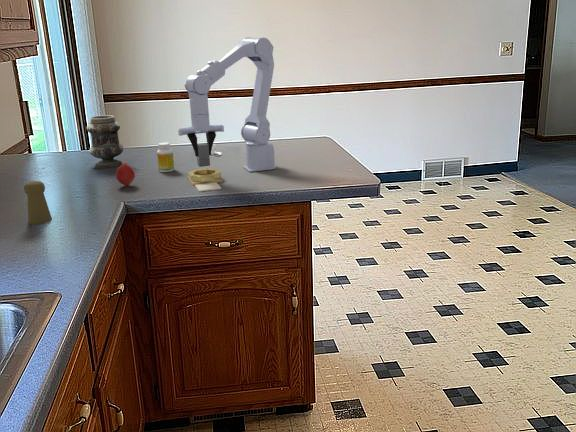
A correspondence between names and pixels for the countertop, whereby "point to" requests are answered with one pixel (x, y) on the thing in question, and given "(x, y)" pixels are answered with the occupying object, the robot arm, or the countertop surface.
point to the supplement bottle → (165, 157)
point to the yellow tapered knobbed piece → (37, 203)
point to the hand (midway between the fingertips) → (203, 155)
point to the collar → (204, 175)
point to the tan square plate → (205, 182)
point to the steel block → (203, 155)
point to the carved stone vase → (105, 140)
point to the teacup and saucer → (214, 151)
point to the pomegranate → (125, 174)
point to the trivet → (207, 187)
